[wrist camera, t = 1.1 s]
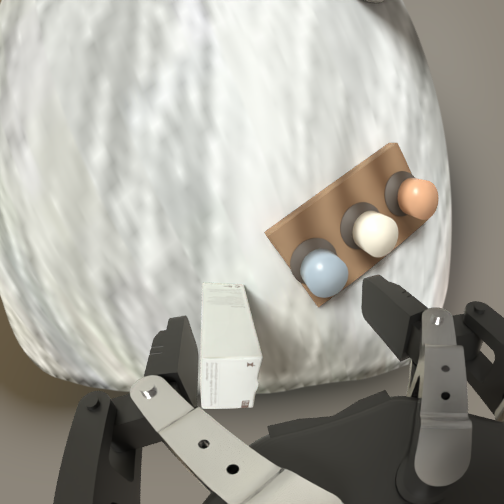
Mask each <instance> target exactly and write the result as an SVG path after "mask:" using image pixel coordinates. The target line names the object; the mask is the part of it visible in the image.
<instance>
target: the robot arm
mask: <svg viewBox="0 0 504 504" xmlns="http://www.w3.org/2000/svg"><path fill="white" fill-rule="evenodd" d="M365 1H368V2H373V3H379V2H382V1H384V0H365ZM362 314H363V317H364V319H365V320H366V321H367V322H368V324H369V325H370V326H371V327H372V328H373V329H374V331H375V332H376V333H377V334H378V335H379V336H380V338H381V339H382V340H383V341H384V342H385V344H386V345H387V346H388V347H389V348H390V349H391V351H392V352H393V353H394V354H395V355H396V357H397V358H398V359H399V360H400V362H401V361H403V360H405V359H407V358H411V359H412V361H411V365H410V372H409V381H408V388H407V395H406V396H395V397H389V395H388V393H387V392H386V391H385V390H384V391H382V392H379V393H377V394H374V395H372V396H369V397H367V398H364V399H361V400H359V401H358V402H356V403H354V404H352V405H351V406H349V407H348V408H346V409H344V410H343V411H341V412H339V413H337V414H336V415H334V416H330V417H319V418H306V419H297V420H292V421H289V422H284V423H280V424H275V425H270V426H268V431H269V435H266V436H264V437H262V438H260V439H258V440H257V441H255V442H254V443H252V444H251V445H249V446H247V445H246V444H245V443H243V442H242V441H241V440H239V439H238V438H237V437H235V436H234V435H233V434H231V433H230V432H229V431H228V430H226V429H225V428H224V427H223V426H221V425H220V424H219V423H218V422H217V421H215V420H214V419H213V418H212V417H211V416H209V415H208V414H207V413H206V412H205V411H204V410H202V409H201V408H199V407H198V406H197V386H198V349H197V345H196V342H195V339H194V336H193V333H192V330H191V327H190V324H189V321H188V318H187V316H180V317H174V318H169V321H168V325H167V330H164V331H160V332H159V333H158V334H157V335H156V336H155V338H154V339H153V343H152V348H151V350H150V355H149V358H148V362H147V366H146V370H145V374H144V377H143V378H141V379H139V380H137V381H136V382H135V383H134V384H133V385H132V387H131V389H130V393H129V394H127V395H124V396H120V397H117V398H114V399H110V398H109V396H108V395H107V394H106V393H104V392H101V391H94V392H91V393H89V394H87V395H85V396H84V397H83V398H82V399H81V400H80V402H79V404H78V407H77V410H76V413H75V416H74V419H73V422H72V426H71V429H70V432H69V436H68V440H67V444H66V447H65V451H64V455H63V459H62V463H61V467H60V471H59V477H58V481H57V486H56V491H55V497H54V503H53V504H140V483H141V482H140V481H141V459H142V447H144V446H148V445H151V444H154V443H158V442H161V441H162V442H163V443H164V444H165V445H166V446H167V448H168V449H169V450H170V451H171V452H172V453H173V454H174V456H175V457H176V458H177V459H178V460H179V461H180V462H181V463H182V464H183V465H184V466H185V468H186V469H187V470H188V471H189V472H190V473H191V474H192V475H193V476H194V477H195V478H196V479H197V480H198V481H199V482H200V483H201V484H202V485H203V486H204V487H205V488H206V489H207V490H208V491H209V492H210V493H211V494H210V495H209V496H208V498H207V499H206V500H205V501H204V502H203V504H504V318H503V317H502V316H501V315H499V314H498V313H497V312H496V311H494V310H493V309H492V308H491V307H489V306H488V305H486V304H485V303H482V302H476V301H475V302H470V303H468V304H467V305H466V308H465V312H464V314H460V315H455V316H452V315H451V313H449V312H448V311H447V310H445V309H442V308H429V309H428V308H427V307H426V306H425V305H423V304H422V303H421V302H420V301H419V300H417V299H416V298H415V297H414V296H412V295H411V294H410V293H409V292H406V290H405V289H403V288H402V287H401V286H400V285H397V284H394V283H392V282H388V281H387V280H386V279H384V278H383V277H382V276H381V275H375V276H371V277H368V278H364V280H363V284H362ZM483 341H484V342H485V343H486V344H487V345H488V346H489V347H490V348H491V349H492V350H493V351H494V354H495V361H494V363H493V364H492V363H491V362H490V361H489V360H488V358H487V357H486V356H485V355H484V354H483V353H482V352H481V351H480V348H481V346H482V343H483ZM467 381H468V383H469V384H470V385H471V386H472V387H473V389H474V390H475V391H476V392H477V394H478V395H479V396H480V397H481V399H482V400H483V401H484V403H485V404H486V405H487V406H488V408H489V409H490V410H491V412H492V413H493V414H494V416H495V420H492V419H488V418H484V417H479V416H476V415H472V414H468V399H467Z"/></svg>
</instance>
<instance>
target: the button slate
mask: <svg viewBox="0 0 504 504" xmlns="http://www.w3.org/2000/svg"><path fill="white" fill-rule="evenodd" d="M300 273H301V277H302V279H303V280H304V282H305V283H306V285H307V286H308V288H309V289H310V291H311V292H312V293H313V294H314V295H316V296H318V297H322V298H327V297H331V296H334V295H336V294H337V293H339V292H340V291H341V290H342V289H343V287H344V286H345V284H346V282H347V279H348V268H347V266H346V264H345V263H344V262H343V261H342V260H341V259H340V258H339V257H338V256H336V255H335V254H334V253H333V252H332V251H330V250H328V249H317V250H314V251H312V252H310V253H309V254H308V255H307V256H306V257H305V258H304V260H303V262H302V264H301V268H300Z"/></svg>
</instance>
